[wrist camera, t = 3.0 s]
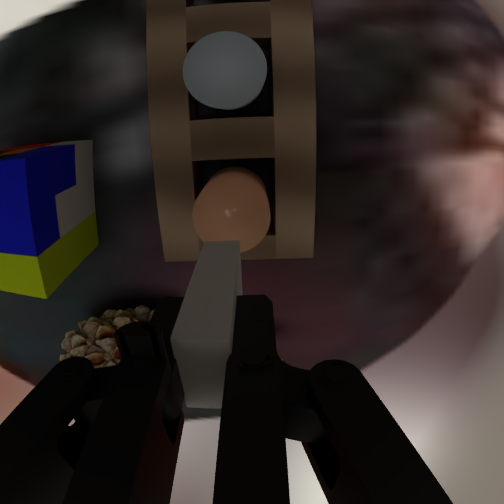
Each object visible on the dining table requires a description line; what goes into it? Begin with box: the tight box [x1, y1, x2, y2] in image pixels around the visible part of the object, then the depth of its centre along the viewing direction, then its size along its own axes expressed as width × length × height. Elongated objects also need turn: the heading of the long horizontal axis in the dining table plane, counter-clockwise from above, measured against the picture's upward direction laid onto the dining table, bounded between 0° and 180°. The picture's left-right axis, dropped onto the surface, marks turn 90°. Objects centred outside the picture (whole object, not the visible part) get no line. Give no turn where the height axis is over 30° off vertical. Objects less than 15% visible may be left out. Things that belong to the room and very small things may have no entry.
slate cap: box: [183, 31, 267, 110], centre depth 18 cm, size 5×5×5 cm
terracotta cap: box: [192, 166, 271, 253], centre depth 22 cm, size 5×5×5 cm
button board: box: [146, 0, 316, 262], centre depth 22 cm, size 28×12×3 cm, turn 2°
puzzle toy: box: [0, 140, 99, 299], centre depth 22 cm, size 10×10×10 cm
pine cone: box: [60, 305, 284, 368], centre depth 28 cm, size 22×10×10 cm, turn 97°
